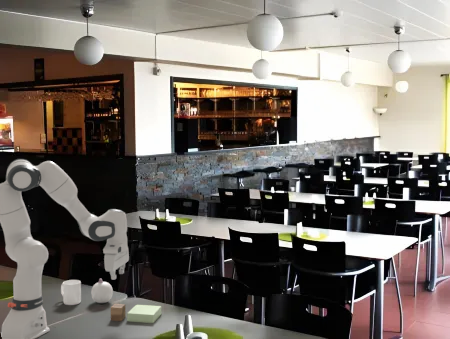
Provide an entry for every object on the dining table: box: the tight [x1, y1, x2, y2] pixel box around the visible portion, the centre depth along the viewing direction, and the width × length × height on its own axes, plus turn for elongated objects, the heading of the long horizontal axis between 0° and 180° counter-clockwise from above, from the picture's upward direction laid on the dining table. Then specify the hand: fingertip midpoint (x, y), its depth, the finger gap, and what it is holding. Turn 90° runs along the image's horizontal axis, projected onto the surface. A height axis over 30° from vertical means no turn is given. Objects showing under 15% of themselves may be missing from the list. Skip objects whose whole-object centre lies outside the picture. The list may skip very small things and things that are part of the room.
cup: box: [60, 279, 82, 306], centre depth 270 cm, size 8×12×10 cm
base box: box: [126, 304, 162, 324], centre depth 249 cm, size 12×12×4 cm
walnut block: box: [110, 303, 127, 322], centre depth 247 cm, size 5×5×6 cm
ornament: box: [90, 278, 114, 304], centre depth 269 cm, size 10×10×12 cm
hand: (117, 276), depth 246 cm, fingers open, 8 cm apart
